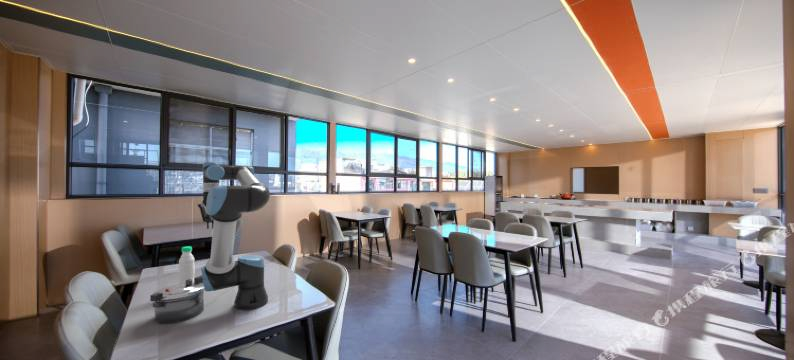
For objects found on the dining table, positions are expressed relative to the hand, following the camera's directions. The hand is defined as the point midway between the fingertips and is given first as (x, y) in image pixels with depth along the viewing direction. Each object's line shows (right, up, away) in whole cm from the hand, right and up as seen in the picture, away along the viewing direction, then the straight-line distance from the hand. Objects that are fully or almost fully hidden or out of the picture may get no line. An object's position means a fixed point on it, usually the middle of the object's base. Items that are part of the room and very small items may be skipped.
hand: (211, 234), depth 157 cm
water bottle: (-16, -33, +4) cm, 37 cm away
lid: (+1, -22, -21) cm, 30 cm away
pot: (+1, -32, -21) cm, 39 cm away
